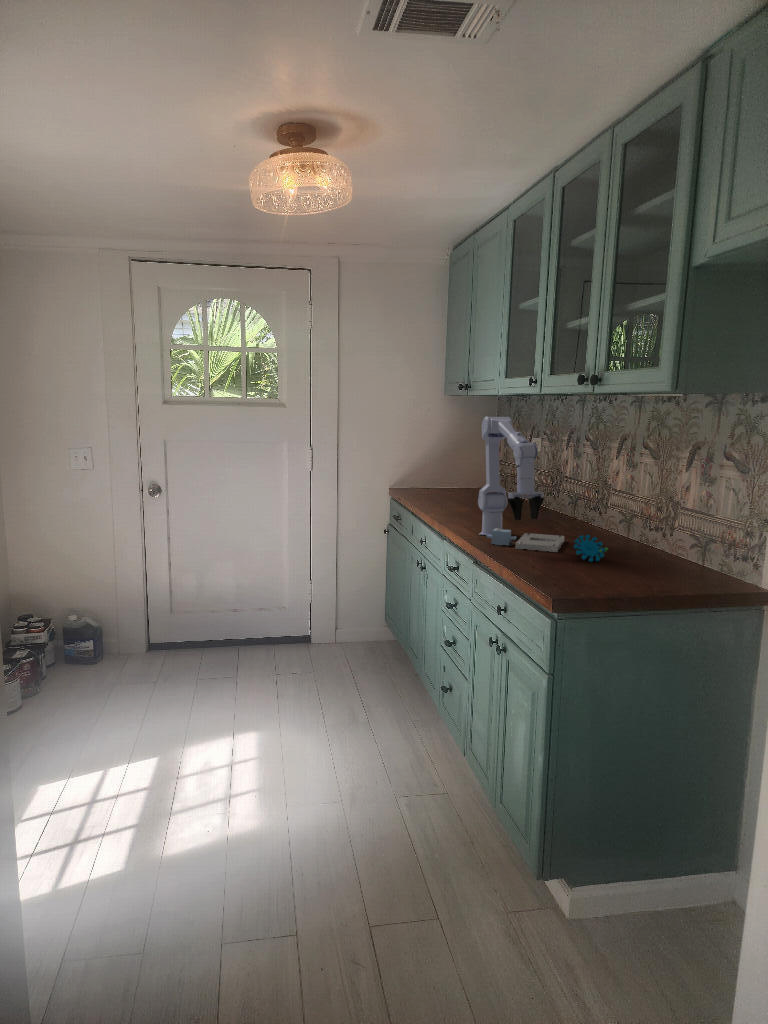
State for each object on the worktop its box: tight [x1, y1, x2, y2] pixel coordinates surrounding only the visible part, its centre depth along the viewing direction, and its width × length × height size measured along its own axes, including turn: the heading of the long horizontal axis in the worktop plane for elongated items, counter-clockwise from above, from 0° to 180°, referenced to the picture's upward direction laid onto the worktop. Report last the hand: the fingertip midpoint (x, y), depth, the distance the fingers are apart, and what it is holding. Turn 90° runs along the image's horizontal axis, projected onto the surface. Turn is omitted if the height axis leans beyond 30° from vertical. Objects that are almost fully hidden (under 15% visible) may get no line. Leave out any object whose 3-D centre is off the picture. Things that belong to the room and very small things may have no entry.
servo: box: [486, 528, 517, 547], centre depth 238 cm, size 4×10×5 cm, turn 69°
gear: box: [573, 534, 609, 563], centre depth 217 cm, size 11×6×10 cm
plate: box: [514, 532, 565, 553], centre depth 238 cm, size 20×14×2 cm
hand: (526, 519), depth 229 cm, fingers open, 7 cm apart
